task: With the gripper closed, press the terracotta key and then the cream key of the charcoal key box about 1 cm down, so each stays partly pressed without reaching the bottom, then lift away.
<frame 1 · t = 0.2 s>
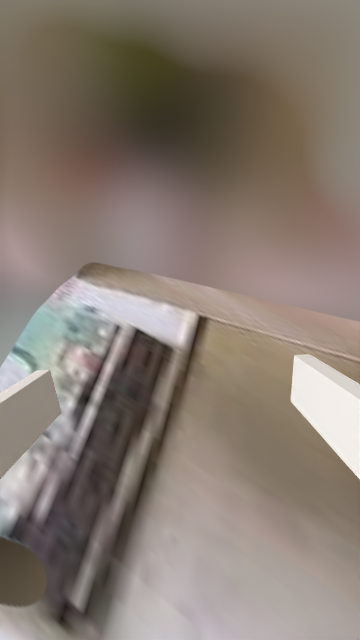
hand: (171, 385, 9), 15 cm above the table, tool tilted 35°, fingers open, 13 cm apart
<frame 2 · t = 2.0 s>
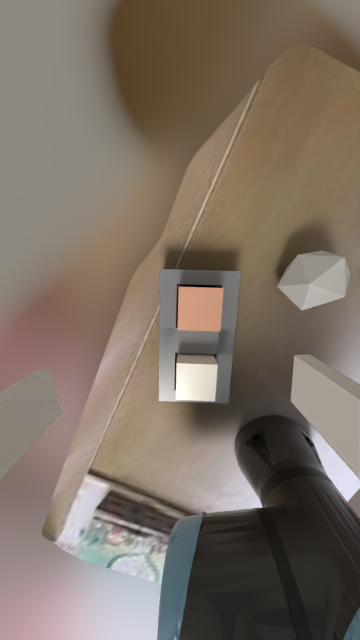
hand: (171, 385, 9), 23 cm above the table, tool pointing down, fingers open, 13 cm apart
cream key: (195, 374, 28), point 5 cm above the table, slide at 0.0 cm
key box: (195, 333, 32), on the table
terracotta key: (198, 307, 26), point 5 cm above the table, slide at 0.0 cm
die: (295, 281, 30), on the table
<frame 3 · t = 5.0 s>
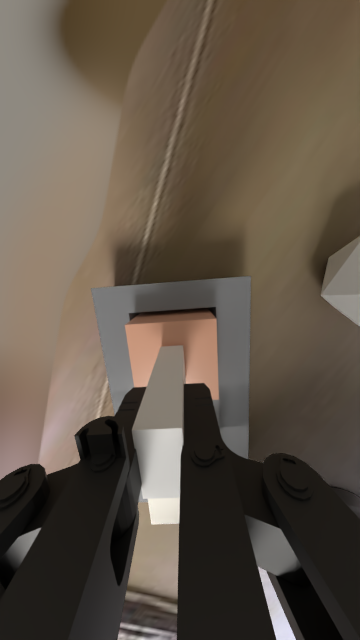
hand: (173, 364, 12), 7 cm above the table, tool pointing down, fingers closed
cream key: (184, 463, 16), point 5 cm above the table, slide at 0.0 cm
key box: (181, 380, 20), on the table
terracotta key: (175, 349, 14), point 4 cm above the table, slide at 0.8 cm, touching gripper
die: (345, 278, 17), on the table
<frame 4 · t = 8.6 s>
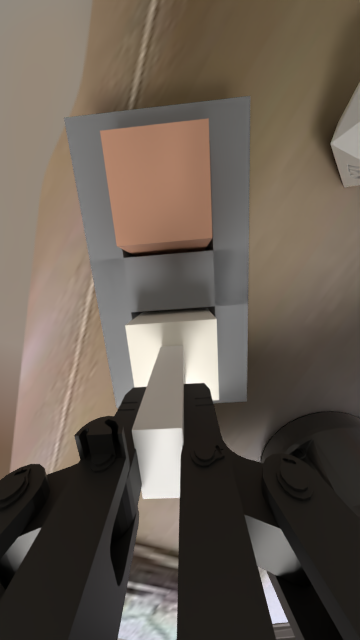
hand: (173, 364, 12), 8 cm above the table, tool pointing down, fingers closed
cream key: (175, 350, 14), point 5 cm above the table, slide at 0.2 cm, touching gripper
key box: (173, 282, 18), on the table
terracotta key: (164, 205, 13), point 4 cm above the table, slide at 0.8 cm
die: (356, 151, 15), on the table
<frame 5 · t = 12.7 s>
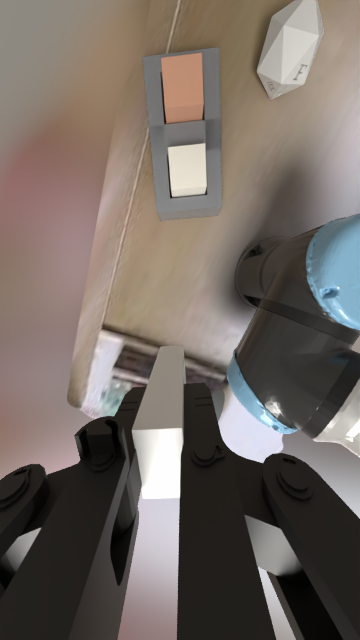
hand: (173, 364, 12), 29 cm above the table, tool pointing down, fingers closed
cream key: (187, 176, 31), point 4 cm above the table, slide at 0.8 cm
key box: (185, 156, 34), on the table
terracotta key: (182, 98, 28), point 4 cm above the table, slide at 0.8 cm
die: (275, 81, 31), on the table
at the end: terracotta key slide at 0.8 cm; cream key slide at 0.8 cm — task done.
